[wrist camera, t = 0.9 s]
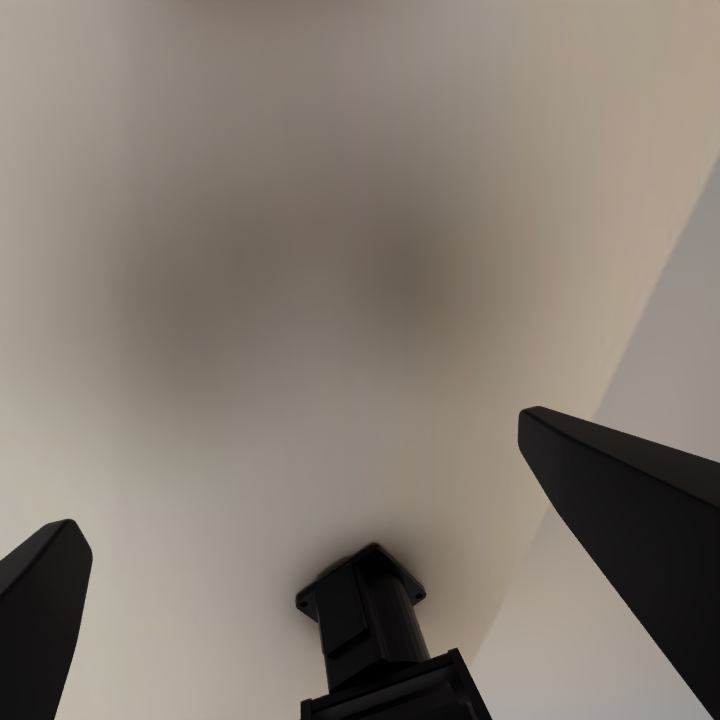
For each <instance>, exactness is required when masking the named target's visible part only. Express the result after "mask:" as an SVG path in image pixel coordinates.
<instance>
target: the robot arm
mask: <svg viewBox="0 0 720 720" xmlns="http://www.w3.org/2000/svg"><path fill="white" fill-rule="evenodd" d="M518 446H519V449H520V451H521V453H522V455H523V457H524V458H525V460H526V462H527V463H528V465H529V467H530V468H531V470H532V472H533V473H534V475H535V477H536V478H537V480H538V482H539V483H540V485H541V487H542V488H543V490H544V492H545V493H546V495H547V497H548V498H549V500H550V501H551V503H552V505H553V506H554V507H555V509H556V511H557V512H558V514H559V515H560V516H561V518H562V519H563V520H564V522H565V523H566V525H567V526H568V527H569V529H570V530H571V531H572V533H573V534H574V535H575V537H576V538H577V539H578V541H579V542H580V543H581V544H582V546H583V547H584V548H585V550H586V551H587V552H588V554H589V555H590V556H591V558H592V559H593V560H594V562H595V563H596V564H597V566H598V567H599V568H600V570H601V571H602V572H603V574H604V575H605V576H606V578H607V579H608V580H609V582H610V583H611V584H612V585H613V587H614V588H615V589H616V591H617V592H618V593H619V595H620V596H621V597H622V599H623V600H624V601H625V603H626V604H627V605H628V607H629V608H630V609H631V611H632V612H633V613H634V615H635V616H636V617H637V619H638V620H639V621H640V623H641V624H642V625H643V627H644V628H645V629H646V631H647V632H648V633H649V634H650V636H651V637H652V638H653V640H654V641H655V642H656V644H657V645H658V646H659V648H660V649H661V650H662V652H663V653H664V654H665V656H666V657H667V658H668V659H669V661H670V662H671V663H672V665H673V666H674V668H675V669H676V670H677V672H678V673H679V674H680V676H681V677H682V678H683V680H684V681H685V682H686V684H687V685H688V686H689V687H690V689H691V690H692V691H693V693H694V694H695V695H696V697H697V698H698V699H699V701H700V702H701V703H702V705H703V706H704V707H705V709H706V710H707V711H708V713H709V714H710V715H711V717H712V718H713V719H714V720H720V463H718V462H716V461H712V460H709V459H706V458H703V457H700V456H697V455H693V454H690V453H687V452H684V451H681V450H678V449H674V448H671V447H668V446H665V445H662V444H659V443H655V442H652V441H649V440H646V439H642V438H640V437H636V436H633V435H630V434H627V433H624V432H621V431H618V430H614V429H611V428H608V427H605V426H602V425H598V424H595V423H592V422H589V421H586V420H583V419H580V418H576V417H573V416H570V415H567V414H564V413H561V412H557V411H554V410H551V409H548V408H545V407H542V406H535V407H531V408H527V409H523V410H522V411H520V413H519V421H518ZM92 561H93V556H92V551H91V548H90V546H89V544H88V542H87V541H86V539H85V537H84V535H83V533H82V532H81V530H80V528H79V526H78V525H77V523H76V522H75V521H74V520H72V519H64V520H60V521H56V522H52V523H48V524H46V525H44V526H43V527H42V528H40V529H39V530H38V531H37V532H35V533H34V534H33V535H32V536H30V537H29V538H28V539H27V540H25V541H24V542H23V543H22V544H21V545H19V546H18V547H17V548H16V549H14V550H13V551H12V552H11V553H9V554H8V555H7V556H6V557H4V558H3V559H2V560H1V561H0V720H54V718H55V715H56V712H57V708H58V705H59V702H60V698H61V695H62V692H63V688H64V685H65V682H66V678H67V675H68V672H69V668H70V665H71V662H72V658H73V655H74V651H75V647H76V643H77V639H78V634H79V630H80V625H81V619H82V614H83V609H84V604H85V598H86V593H87V588H88V583H89V577H90V572H91V567H92ZM425 597H426V592H425V589H424V587H423V586H422V585H421V584H420V583H419V582H417V581H416V580H415V579H414V578H413V577H412V576H411V575H410V574H409V573H408V572H407V571H406V570H405V569H404V568H403V567H402V566H401V565H400V564H399V563H397V562H396V561H395V560H394V559H393V558H392V557H391V556H390V555H389V554H388V553H387V552H386V551H385V550H384V549H383V548H382V547H381V546H379V545H372V546H370V547H368V548H367V549H365V550H364V551H362V552H361V553H359V554H358V555H356V556H355V557H353V558H352V559H350V560H349V561H347V562H346V563H345V564H343V565H342V566H340V567H339V568H337V569H336V570H334V571H333V572H331V573H330V574H328V575H327V576H325V577H324V578H323V579H321V580H320V581H318V582H317V583H315V584H314V585H312V586H311V587H309V588H308V589H306V590H305V591H303V592H302V593H301V594H299V595H298V596H297V597H296V599H295V601H296V607H297V609H299V610H300V611H302V612H303V613H304V614H306V615H307V616H309V617H310V618H311V619H313V620H314V621H316V622H317V623H318V624H319V631H320V639H321V646H322V652H323V654H324V659H325V667H326V674H327V682H328V689H329V694H328V695H325V696H322V697H319V698H316V699H313V700H312V699H311V698H310V699H307V700H304V701H301V719H300V720H492V718H491V716H490V714H489V712H488V710H487V708H486V706H485V704H484V701H483V700H482V697H481V695H480V693H479V691H478V689H477V687H476V685H475V683H474V681H473V679H472V677H471V675H470V673H469V671H468V669H467V667H466V665H465V662H464V660H463V658H462V656H461V654H460V652H459V650H458V648H454V649H451V650H448V653H446V654H443V655H440V656H437V657H434V658H430V655H429V652H428V649H427V647H426V644H425V641H424V638H423V635H422V632H421V629H420V626H419V624H418V621H417V618H416V615H415V612H414V609H413V606H414V605H415V604H417V603H418V602H420V601H421V600H423V599H424V598H425Z"/></svg>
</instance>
